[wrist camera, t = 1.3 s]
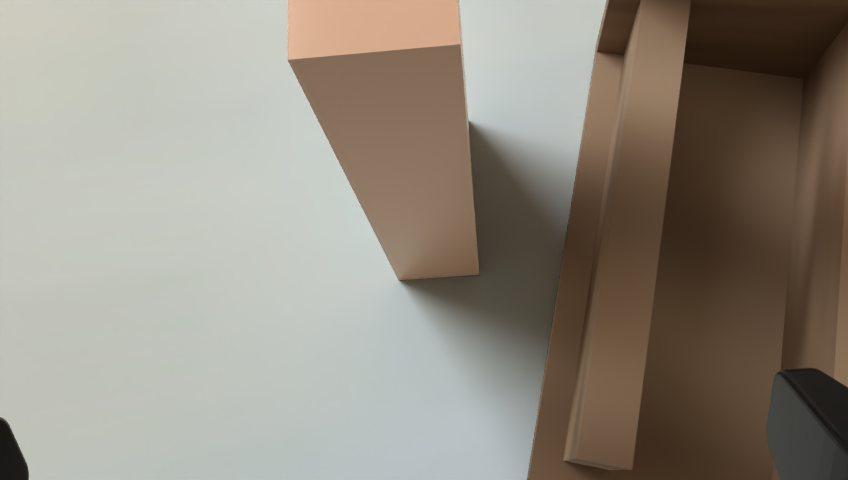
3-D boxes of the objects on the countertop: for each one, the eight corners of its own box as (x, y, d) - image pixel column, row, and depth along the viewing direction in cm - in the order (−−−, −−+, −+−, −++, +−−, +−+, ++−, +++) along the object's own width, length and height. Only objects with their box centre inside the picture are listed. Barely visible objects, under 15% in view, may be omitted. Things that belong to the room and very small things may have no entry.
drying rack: (834, 558, 20) (1021, 605, 13) (525, 492, 21) (540, 502, 14) (862, 74, 24) (1019, -98, 17) (597, 40, 25) (638, -135, 18)
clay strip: (479, 274, 23) (459, 43, 11) (398, 280, 23) (287, 59, 11) (468, 119, 25) (440, -241, 12) (392, 126, 25) (287, -223, 12)
